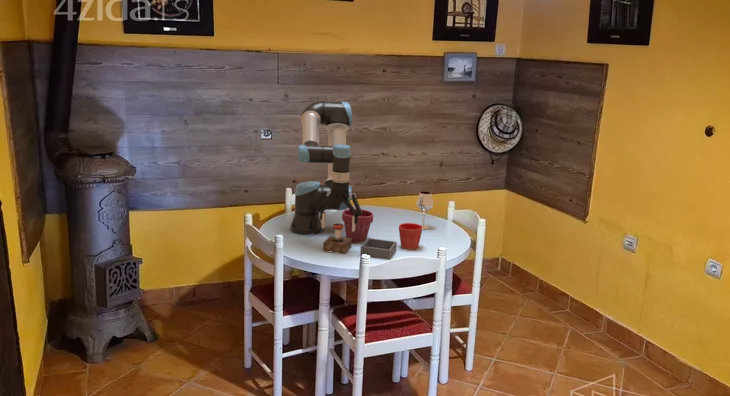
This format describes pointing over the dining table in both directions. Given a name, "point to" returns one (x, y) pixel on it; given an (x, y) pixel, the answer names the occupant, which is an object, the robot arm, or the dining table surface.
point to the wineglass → (425, 204)
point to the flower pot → (410, 235)
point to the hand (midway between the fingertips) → (338, 229)
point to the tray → (378, 248)
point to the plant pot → (357, 225)
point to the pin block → (337, 245)
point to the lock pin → (338, 232)
